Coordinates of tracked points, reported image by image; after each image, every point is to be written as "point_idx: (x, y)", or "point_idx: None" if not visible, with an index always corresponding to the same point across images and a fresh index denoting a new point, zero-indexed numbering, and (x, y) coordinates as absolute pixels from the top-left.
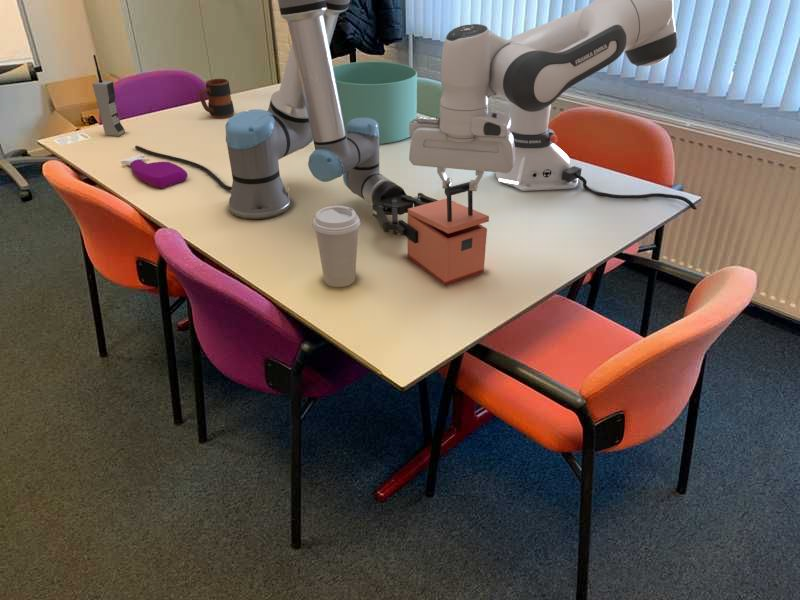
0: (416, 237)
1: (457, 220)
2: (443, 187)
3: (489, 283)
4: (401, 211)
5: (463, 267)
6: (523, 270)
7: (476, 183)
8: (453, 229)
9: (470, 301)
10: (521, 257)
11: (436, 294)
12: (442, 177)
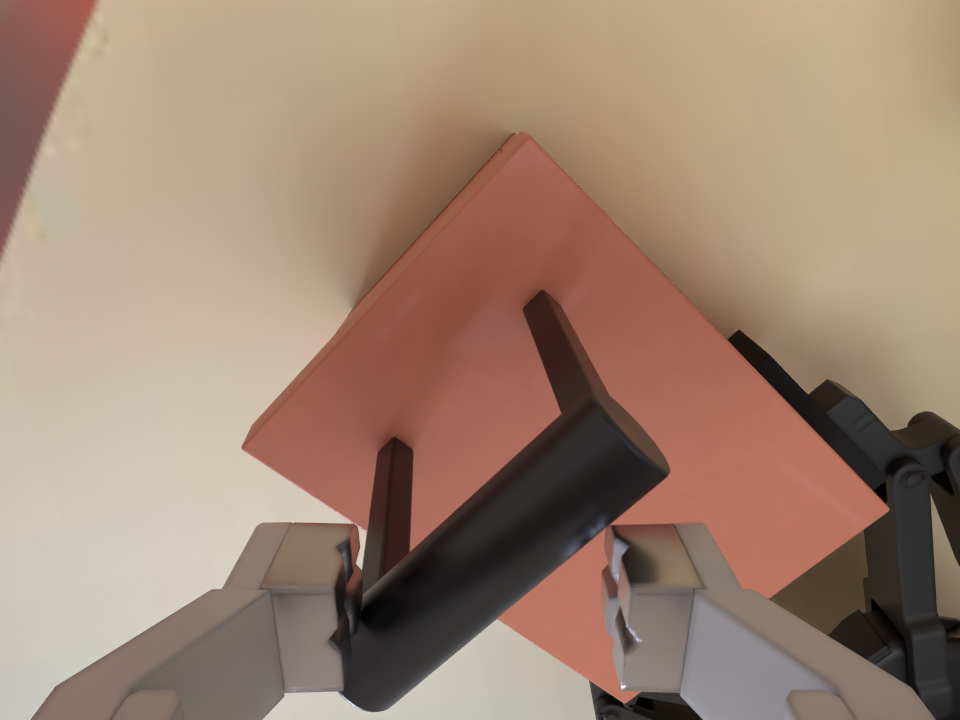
0: (745, 349)
1: (477, 329)
2: (693, 524)
3: (303, 215)
4: (859, 629)
5: (431, 227)
6: (179, 372)
7: (222, 589)
8: (485, 175)
9: (355, 9)
10: (217, 480)
11: (541, 34)
12: (767, 624)
